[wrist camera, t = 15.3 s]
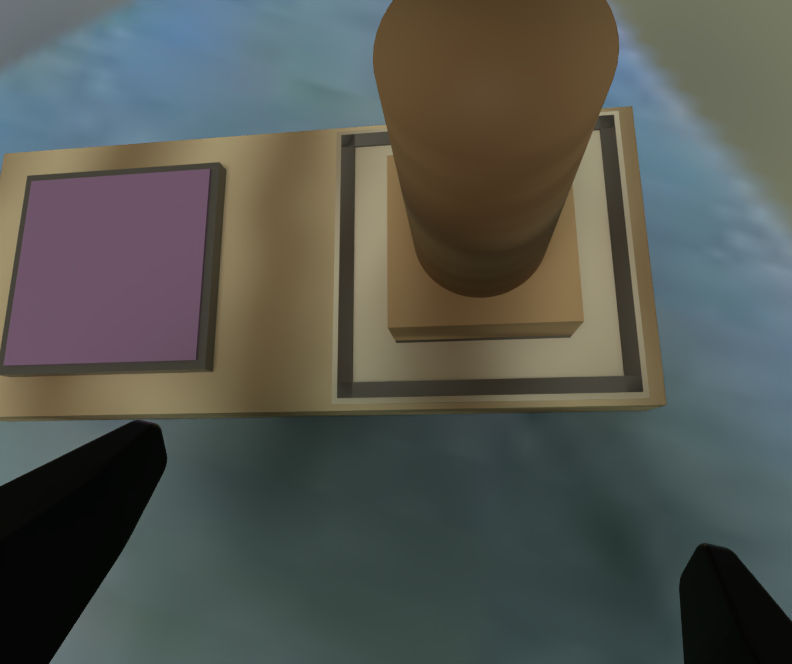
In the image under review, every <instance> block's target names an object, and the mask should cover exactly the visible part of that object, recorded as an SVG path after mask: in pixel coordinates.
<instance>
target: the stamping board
mask: <svg viewBox="0 0 792 664" xmlns="http://www.w3.org/2000/svg"><path fill="white" fill-rule="evenodd" d="M388 155H393V152H392V148H391V144H390V139H389V135H388V131H387V126H386V125H379V126H366V127H353V128H339V129H326V130H313V131H300V132H287V133H273V134H260V135H247V136H234V137H221V138H207V139H194V140H181V141H168V142H154V143H141V144H128V145H115V146H102V147H88V148H75V149H62V150H49V151H36V152H22V153H9V154H4V159H3V165H2V171H1V177H0V348H1V342H2V335H3V329H4V322H5V316H6V310H7V303H8V297H9V290H10V284H11V277H12V271H13V264H14V258H15V252H16V245H17V239H18V232H19V226H20V219H21V213H22V206H23V200H24V194H25V187H26V181H27V176H30V175H44V174H58V173H73V172H87V171H101V170H115V169H129V168H143V167H158V166H172V165H186V164H200V163H214V162H220V163H221V164H222V166H223V167H224V168H225V169H226V183H225V198H224V213H223V228H222V242H221V257H220V272H219V287H218V302H217V317H216V331H215V346H214V361H213V372H190V373H152V374H115V375H77V376H39V377H6V376H0V421H60V420H119V419H178V418H238V417H297V416H356V415H416V414H475V413H535V412H594V411H647V410H650V409H654V408H657V407H661V406H664V405H667V404H666V396H665V387H664V378H663V370H662V361H661V352H660V344H659V335H658V326H657V318H656V309H655V300H654V292H653V283H652V274H651V266H650V257H649V248H648V240H647V231H646V223H645V214H644V205H643V197H642V188H641V179H640V171H639V162H638V153H637V145H636V136H635V127H634V119H633V110H632V106H630V107H617V108H604V109H601V112H600V114H599V117H598V119H597V122H596V124H595V127H594V130H593V132H592V135H591V137H590V140H589V142H588V145H587V148H586V150H585V153H584V155H583V158H582V160H581V163H580V166H579V168H578V171H577V173H576V176H575V178H574V181H573V196H574V208H575V220H576V231H577V243H578V255H579V267H580V278H581V290H582V302H583V313H584V322H583V323H582V324H581V325H580V326H579V328H578V329H577V330H576V331H575V332H574V334H573V335H572V336H571V337H570V338H543V339H511V340H479V341H447V342H415V343H396V342H395V340H394V338H393V336H392V335H391V333H390V331H389V329H388V310H387V156H388Z"/></svg>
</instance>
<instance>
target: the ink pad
mask: <svg viewBox="0 0 792 664" xmlns="http://www.w3.org/2000/svg"><path fill="white" fill-rule="evenodd" d="M225 183H226V169H225V168H224V167H223V166H222V164H221V163H220V162H214V163H200V164H186V165H172V166H158V167H143V168H129V169H115V170H101V171H87V172H73V173H58V174H44V175H30V176H27V181H26V187H25V194H24V200H23V206H22V213H21V219H20V226H19V232H18V239H17V245H16V252H15V258H14V264H13V271H12V277H11V284H10V290H9V297H8V303H7V310H6V316H5V322H4V329H3V335H2V342H1V348H0V376H6V377H39V376H77V375H115V374H152V373H190V372H213V361H214V346H215V331H216V317H217V302H218V287H219V272H220V257H221V242H222V228H223V213H224V198H225Z"/></svg>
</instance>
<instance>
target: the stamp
mask: <svg viewBox="0 0 792 664" xmlns="http://www.w3.org/2000/svg"><path fill="white" fill-rule="evenodd" d="M618 55H619V36H618V31H617V26H616V22H615V19H614V16H613V13H612V11H611V8H610V7H609V5H608V3H607V1H606V0H393V1H392V3H391V4H390V5H389V7H388V9H387V10H386V12H385V14H384V16H383V18H382V20H381V23H380V25H379V28H378V30H377V34H376V38H375V43H374V51H373V66H374V74H375V79H376V83H377V87H378V92H379V96H380V100H381V105H382V109H383V113H384V118H385V122H386V126H387V131H388V135H389V139H390V144H391V148H392V152H393V155H388V156H387V310H388V329H389V331H390V333H391V335H392V336H393V338H394V340H395V342H396V343H415V342H447V341H479V340H511V339H543V338H570V337H571V336H572V335H573V334H574V332H575V331H576V330H577V329H578V328H579V326H580V325H581V324H582V323H583V322H584V313H583V302H582V290H581V278H580V267H579V255H578V243H577V231H576V220H575V208H574V196H573V181H574V178H575V176H576V173H577V171H578V168H579V166H580V163H581V160H582V158H583V155H584V153H585V150H586V148H587V145H588V142H589V140H590V137H591V135H592V132H593V130H594V127H595V124H596V122H597V119H598V117H599V114H600V112H601V109H602V106H603V104H604V101H605V99H606V96H607V94H608V91H609V88H610V86H611V83H612V81H613V78H614V74H615V71H616V67H617V63H618Z"/></svg>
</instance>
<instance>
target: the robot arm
mask: <svg viewBox="0 0 792 664" xmlns="http://www.w3.org/2000/svg"><path fill="white" fill-rule="evenodd" d="M166 464H167V454H166V449H165V444H164V440H163V435H162V431H161V428H160V427H159V425H158V424H156V423H151V422H147V421H142V420H135V421H132V422H130V423H128V424H126V425H124V426H121V427H119V428H117V429H115V430H113V431H111V432H109V433H107V434H105V435H103V436H101V437H99V438H97V439H95V440H93V441H91V442H89V443H87V444H85V445H83V446H81V447H79V448H77V449H75V450H73V451H71V452H69V453H67V454H65V455H63V456H61V457H59V458H57V459H55V460H53V461H51V462H48V463H46V464H44V465H42V466H40V467H38V468H36V469H34V470H32V471H30V472H28V473H26V474H24V475H22V476H20V477H18V478H16V479H14V480H12V481H10V482H8V483H6V484H4V485H2V486H0V664H49V663H50V661H51V660H52V658H53V657H54V655H55V654H56V652H57V651H58V649H59V647H60V646H61V644H62V643H63V641H64V640H65V638H66V637H67V635H68V634H69V632H70V631H71V629H72V627H73V626H74V624H75V623H76V621H77V620H78V618H79V617H80V615H81V614H82V612H83V611H84V609H85V608H86V606H87V604H88V603H89V601H90V600H91V598H92V597H93V595H94V594H95V592H96V591H97V589H98V588H99V586H100V585H101V583H102V581H103V580H104V578H105V577H106V575H107V574H108V572H109V571H110V569H111V568H112V566H113V565H114V563H115V562H116V560H117V558H118V557H119V555H120V554H121V552H122V550H123V549H124V547H125V545H126V543H127V542H128V540H129V538H130V536H131V534H132V533H133V531H134V529H135V527H136V525H137V523H138V521H139V519H140V517H141V515H142V513H143V511H144V509H145V507H146V505H147V503H148V502H149V500H150V498H151V496H152V494H153V492H154V490H155V488H156V486H157V484H158V482H159V480H160V478H161V476H162V474H163V473H164V470H165V468H166ZM679 593H680V608H681V623H682V638H683V653H684V664H792V621H791V620H790V619H789V617H788V616H787V615H786V614H785V613H784V611H783V610H782V609H781V608H780V607H779V605H778V604H777V603H776V602H775V601H774V600H773V598H772V597H771V596H770V595H769V594H768V592H767V591H766V590H765V589H764V588H763V586H762V585H761V584H760V583H759V582H758V580H757V579H756V578H755V577H754V576H753V574H752V573H751V572H750V571H749V570H748V568H747V567H746V566H745V565H744V564H743V562H742V561H741V560H740V559H739V558H738V557H737V555H736V554H735V553H734V552H733V551H731V550H730V549H728V548H725V547H721V546H716V545H712V544H707V543H702V544H700V545H698V547H697V548H696V549H695V551H694V553H693V555H692V557H691V558H690V560H689V562H688V564H687V565H686V567H685V569H684V571H683V573H682V575H681V578H680V584H679Z"/></svg>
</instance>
